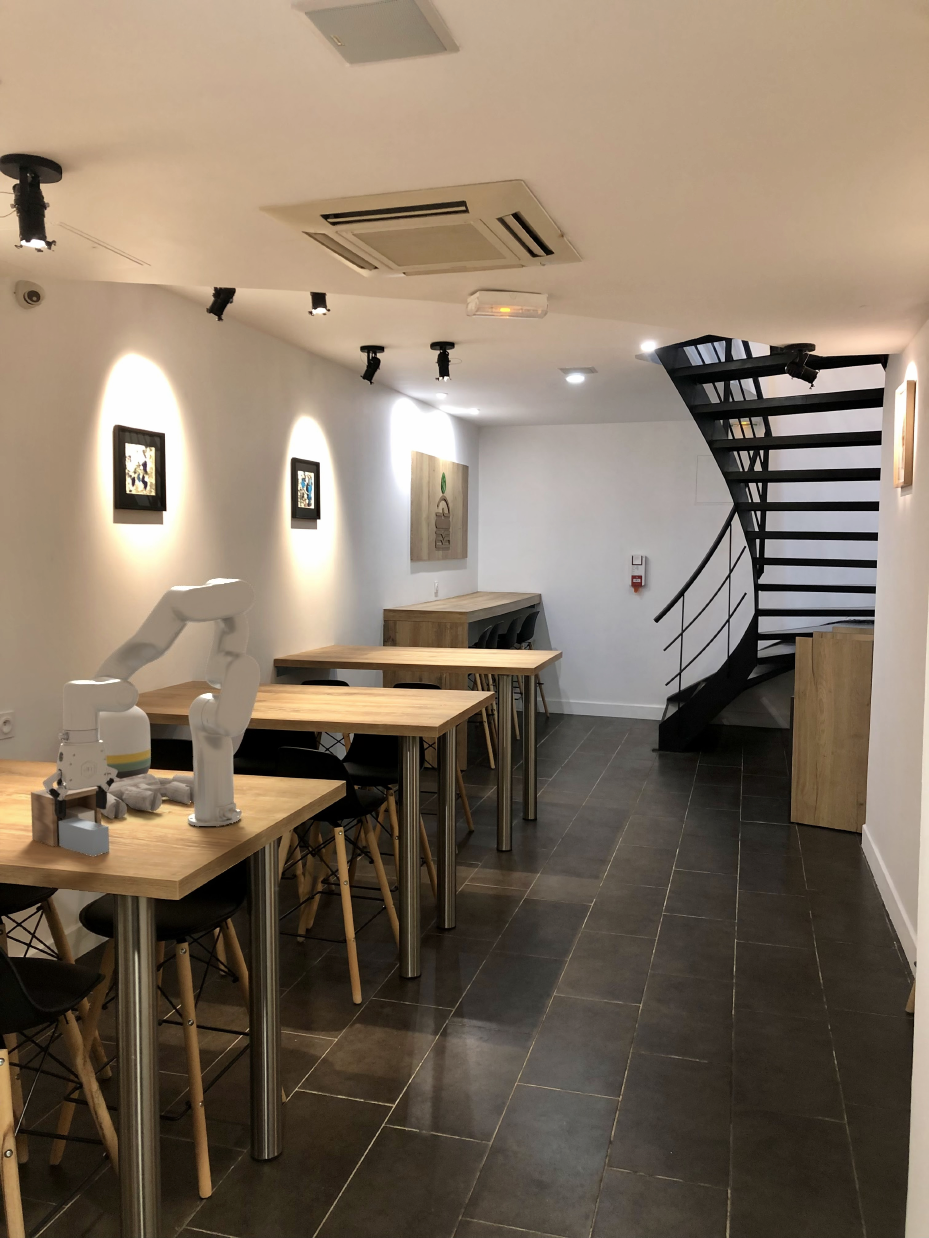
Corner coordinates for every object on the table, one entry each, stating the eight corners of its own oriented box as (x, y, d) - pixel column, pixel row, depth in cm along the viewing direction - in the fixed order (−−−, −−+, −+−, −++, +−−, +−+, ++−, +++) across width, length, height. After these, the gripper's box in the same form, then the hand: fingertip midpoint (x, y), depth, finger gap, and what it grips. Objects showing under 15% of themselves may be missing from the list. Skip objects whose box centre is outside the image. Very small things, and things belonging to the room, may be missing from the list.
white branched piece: (218, 798, 255) (148, 780, 272) (218, 773, 254) (147, 756, 271) (121, 830, 229) (49, 807, 246) (120, 802, 228) (48, 781, 245)
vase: (162, 778, 276) (160, 698, 274) (107, 789, 263) (105, 705, 261) (133, 770, 287) (131, 693, 285) (79, 780, 274) (77, 699, 273)
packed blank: (95, 835, 219) (94, 810, 219) (79, 839, 216) (78, 814, 215) (78, 830, 223) (77, 805, 223) (62, 834, 220) (62, 809, 220)
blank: (109, 852, 206) (108, 826, 206) (93, 857, 203) (92, 830, 203) (75, 842, 214) (74, 817, 213) (59, 847, 210) (58, 821, 210)
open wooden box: (101, 834, 220) (100, 787, 219) (53, 846, 210) (51, 797, 209) (80, 827, 225) (78, 782, 224) (32, 839, 216) (30, 792, 215)
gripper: (53, 743, 197) (53, 823, 198) (125, 733, 211) (125, 808, 212) (34, 739, 202) (34, 817, 203) (106, 729, 216) (106, 802, 217)
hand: (81, 812), depth 207 cm, fingers open, 9 cm apart
